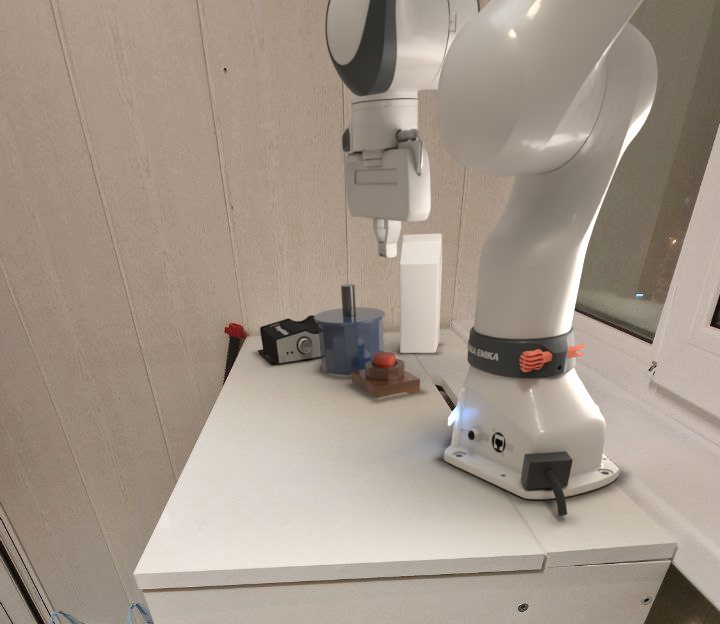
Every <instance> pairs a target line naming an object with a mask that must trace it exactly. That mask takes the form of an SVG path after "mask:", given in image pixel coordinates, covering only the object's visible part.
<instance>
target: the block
mask: <svg viewBox="0 0 720 624" xmlns="http://www.w3.org/2000/svg"><path fill="white" fill-rule="evenodd" d="M405 364H406V363H405V361H404V360H402V359H399V358H396V365H395V366H391V367H375V366H374V360H371V361H369V362H366V364H365V369H364V370H359V371H353V372H352V375H351V379H352V380H351V381H352V383H353V384H355V385H356V386H357V387H359V388H361V389H362V390H364V391H366V392H367V393H368V394H370V395H372V396H373V397H375V398H382V397H388V396H394V395H397V394H402V393H406V394H408V395H412V394H418V393H421V389H420V388H421V378H420V377H417V376H416V375H414V374H412V373H410V372H408V371H406V370H405V366H406V365H405Z"/></svg>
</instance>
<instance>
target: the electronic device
mask: <svg viewBox="0 0 720 624" xmlns="http://www.w3.org/2000/svg"><path fill="white" fill-rule="evenodd" d="M315 315H316V314H315ZM315 315H310V314H309V315H308V316H307V317H306V318H304V319H302V320H293V319H291V318H285V319H282V320H278V321H275V322H272V323H269V324H265V325H262V326H260V327H259V332H260V333H259V334H260V340H261V345H262V349H258V350H257V352H258V353H259V354H260V355H261V357H263V358H264V359H266V361H268V362H269V363H270V364H271V365H273V364H278V365H280V366H281V365H286V364H293V363H298V362H304V361H310V360H316V359H321V351H320V339H319V328H318V323H316V322H315V320H314V317H315Z"/></svg>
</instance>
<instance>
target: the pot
mask: <svg viewBox="0 0 720 624" xmlns="http://www.w3.org/2000/svg"><path fill="white" fill-rule="evenodd" d="M318 328H319V339H320V351H321V358H320V360H321V362H320V363H321V370H322V373H323V374H332V375H337V376H338V375H339V376H352V372H353V371H359V370H364V369H365V364H366V362H369V361H371V360H374V354H376V353H379V352H385V349H384V345H385V343H384V318H383V319H382V320H380V321H377V322H374V323H370V324H364V325H356V326H327V325H321V324H318Z"/></svg>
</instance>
